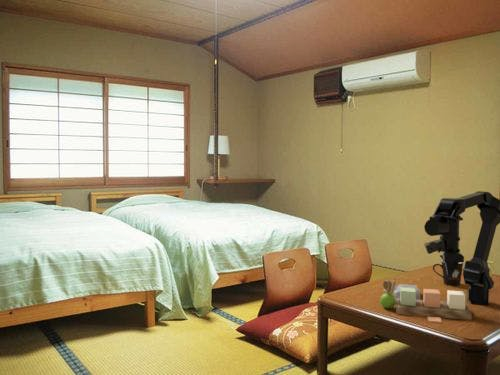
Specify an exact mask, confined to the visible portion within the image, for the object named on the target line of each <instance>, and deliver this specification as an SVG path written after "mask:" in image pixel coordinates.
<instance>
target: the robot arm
mask: <svg viewBox="0 0 500 375" xmlns="http://www.w3.org/2000/svg"><path fill="white" fill-rule="evenodd" d="M475 206H476V207H477V208H478V210H479V216H480V219H481V227H480V228H479V229H480V230H479V233H478V234H479V235H478V237H477V241H476V244H475V248H474V252H473V255H472V258H471V259H470V260H465V256H464V255H463V254H462V253H461V249H460V242H461V237H460V222H461V221H464V218H463V217H462V216H461V214H463V213H465V212H466V210H467V209H469V208H472V207H475ZM499 224H500V199H499V198H497V197H495V196H494V195H493V194H492V193H491V192H489V191H480V190H479V191H476V192H474V193H473V192H472V193H470V194H467V195H463V196H460V197H444V198H443V197H442V198H441V199H440V200H439V202H438V205H437V207H436V208H435V211H434V213H433V214H432V215H430V216H429V219H428V220H426V222H425V224H424V231H425V233H426V234H427V235H428V236H430V237H435V236H439V239H436V240H432V241H427V242H425V243H424V247H425V250H426V253H427V254H428V255H430V254H433V253H435V252H437V253H441V254H440V255H439V257H440V258H441V261H442V260H443V261H444V262H445V266H446V271H447V275H448V277H451V276H452V274H453V273H454V271H455V269H456V267H457V265H458V263H459V262H463V263H464V266H463V268H462V276H463V281H464V284H465V285H468V288H467V291H466V297H467V300H468V302H469V303H470V304H472V305H473V304H474V305H487V306H489V305H490V304H491V303H490V302H489V299H490V298H489V297H490V292H489V291H490V290H492V289H493V288H494V285H495V282H494V280H493V278H492V277H491V276H490V273H491V272H490V270H491V269H490V267H489V264H488V261H489V260H488V259H489V256H490V253H491V249H492V245H493V240H494V238H495V235H496V234H495V233H496V229H497V227H498V225H499ZM464 261H465V262H464Z"/></svg>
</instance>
